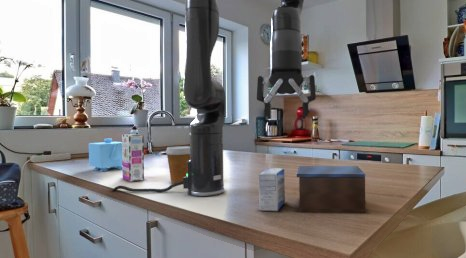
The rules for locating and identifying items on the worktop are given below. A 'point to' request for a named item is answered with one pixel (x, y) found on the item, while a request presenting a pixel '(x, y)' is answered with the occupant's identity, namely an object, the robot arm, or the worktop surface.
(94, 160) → the teapot
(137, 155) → the candy bar box
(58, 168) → the worktop surface
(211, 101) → the robot arm
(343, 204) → the chest
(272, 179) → the medicine box
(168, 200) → the worktop surface
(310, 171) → the chest lid
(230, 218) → the worktop surface
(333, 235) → the worktop surface
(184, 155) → the disposable coffee cup
